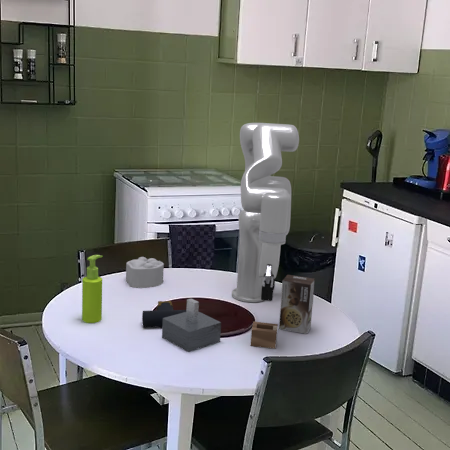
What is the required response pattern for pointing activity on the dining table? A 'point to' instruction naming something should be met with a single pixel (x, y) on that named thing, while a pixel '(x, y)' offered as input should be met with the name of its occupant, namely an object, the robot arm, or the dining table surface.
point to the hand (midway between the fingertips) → (267, 294)
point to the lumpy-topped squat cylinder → (144, 273)
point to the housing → (191, 328)
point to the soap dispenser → (92, 293)
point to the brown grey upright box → (296, 303)
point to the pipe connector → (159, 314)
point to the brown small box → (264, 335)
